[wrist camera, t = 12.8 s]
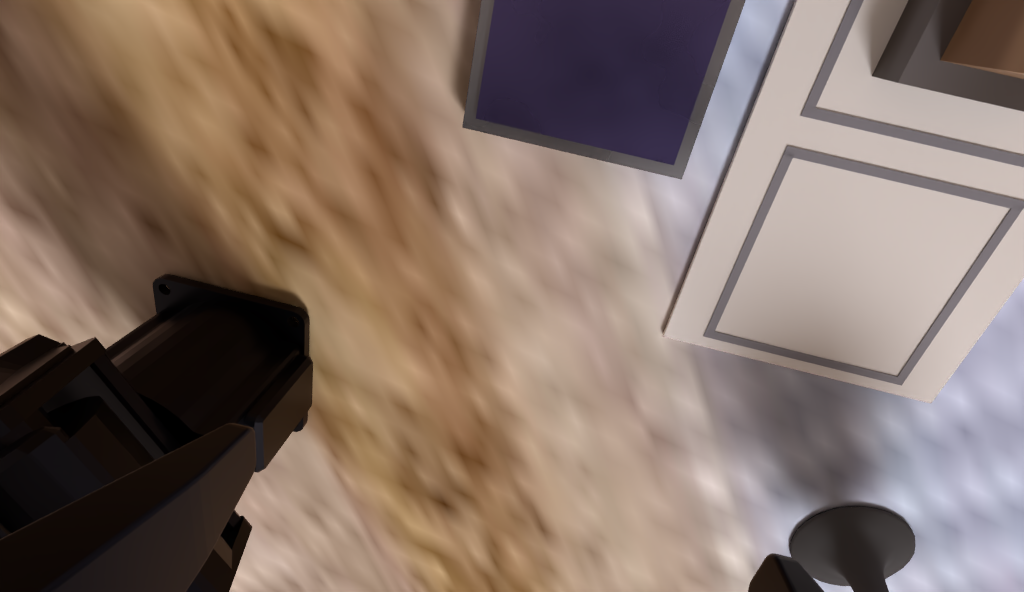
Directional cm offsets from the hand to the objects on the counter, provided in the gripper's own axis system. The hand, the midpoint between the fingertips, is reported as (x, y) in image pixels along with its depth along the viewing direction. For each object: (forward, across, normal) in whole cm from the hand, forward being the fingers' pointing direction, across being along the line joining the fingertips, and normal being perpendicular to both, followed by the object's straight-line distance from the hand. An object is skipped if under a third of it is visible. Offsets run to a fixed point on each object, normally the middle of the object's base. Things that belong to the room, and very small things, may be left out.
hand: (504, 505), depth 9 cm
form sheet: (+11, -10, -6) cm, 16 cm away
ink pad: (+12, 0, -8) cm, 14 cm away
